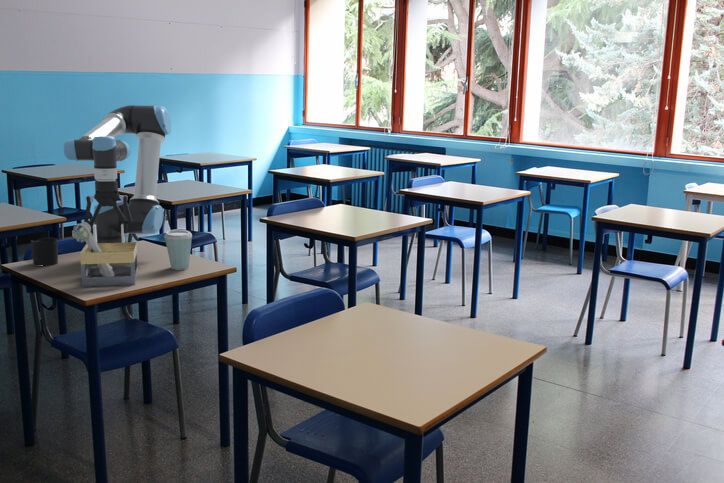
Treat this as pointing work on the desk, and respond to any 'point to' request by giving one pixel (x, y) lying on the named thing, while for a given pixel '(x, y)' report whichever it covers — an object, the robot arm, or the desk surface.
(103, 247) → the collar stand
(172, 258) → the disposable coffee cup
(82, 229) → the toothbrush head
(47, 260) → the pen holder
